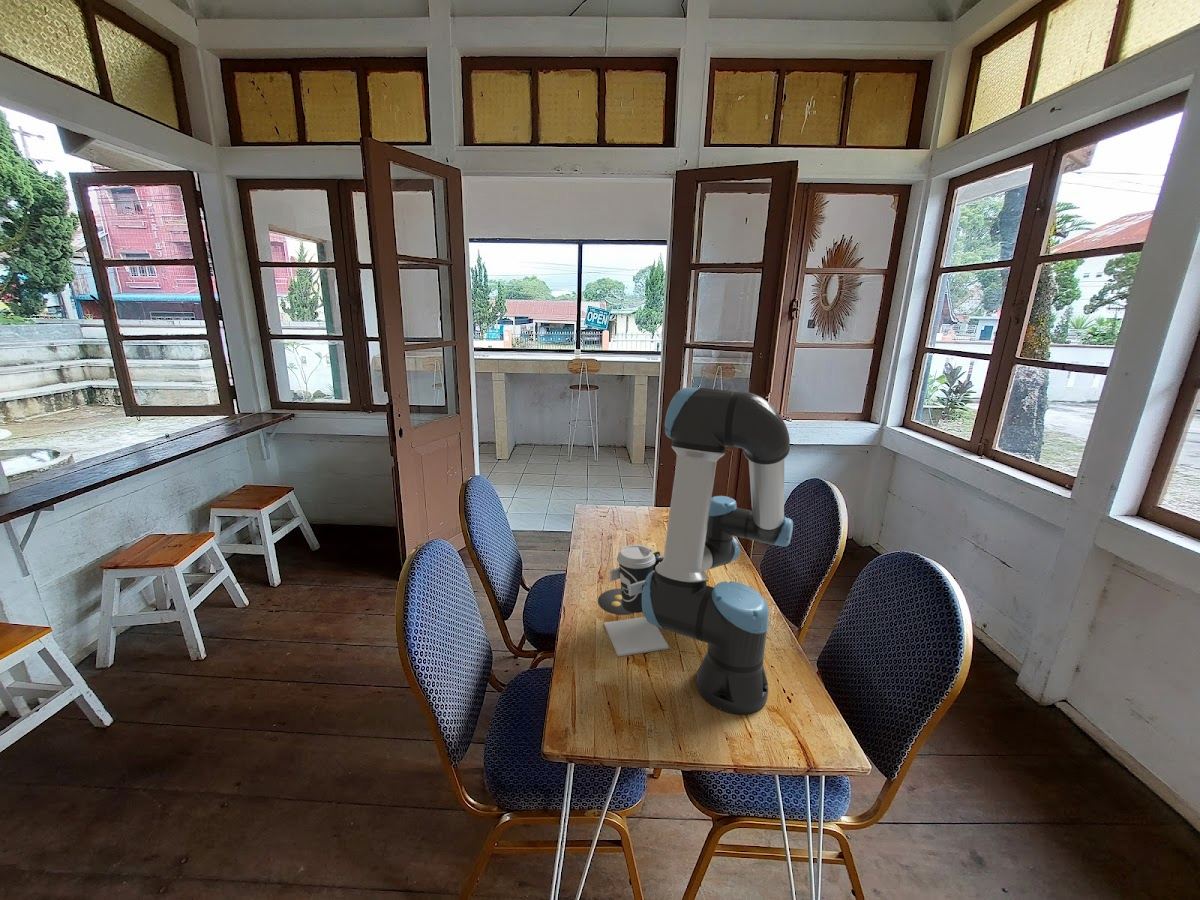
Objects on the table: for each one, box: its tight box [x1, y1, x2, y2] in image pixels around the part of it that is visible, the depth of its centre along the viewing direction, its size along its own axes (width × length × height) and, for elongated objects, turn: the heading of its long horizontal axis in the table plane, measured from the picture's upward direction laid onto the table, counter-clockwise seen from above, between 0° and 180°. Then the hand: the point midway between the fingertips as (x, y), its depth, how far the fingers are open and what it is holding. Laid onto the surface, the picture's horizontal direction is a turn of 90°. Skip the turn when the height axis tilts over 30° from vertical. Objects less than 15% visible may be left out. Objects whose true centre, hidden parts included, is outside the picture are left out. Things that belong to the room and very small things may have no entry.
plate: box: [603, 616, 670, 658], centre depth 126 cm, size 13×13×1 cm
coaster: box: [597, 588, 633, 616], centre depth 141 cm, size 13×13×1 cm
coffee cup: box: [616, 544, 656, 614], centre depth 124 cm, size 10×10×15 cm
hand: (620, 582), depth 121 cm, fingers closed on coffee cup, 7 cm apart
